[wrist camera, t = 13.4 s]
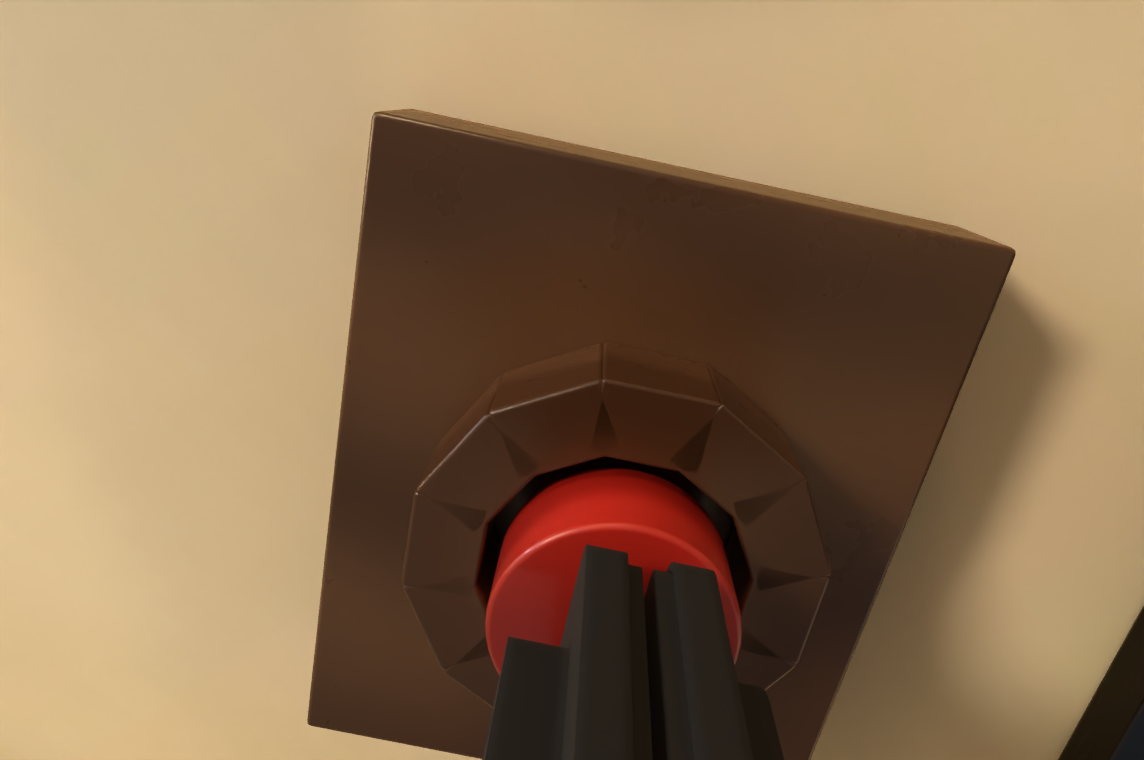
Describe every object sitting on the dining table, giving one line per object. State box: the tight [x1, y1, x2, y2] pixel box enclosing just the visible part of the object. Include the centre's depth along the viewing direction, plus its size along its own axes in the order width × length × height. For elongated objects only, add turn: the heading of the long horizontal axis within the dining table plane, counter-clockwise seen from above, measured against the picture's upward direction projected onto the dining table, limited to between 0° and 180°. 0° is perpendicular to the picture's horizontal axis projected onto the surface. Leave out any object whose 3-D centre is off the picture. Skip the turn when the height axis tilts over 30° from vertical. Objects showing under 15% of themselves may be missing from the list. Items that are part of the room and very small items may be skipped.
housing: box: [307, 109, 1015, 760], centre depth 14 cm, size 12×10×4 cm
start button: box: [485, 468, 742, 676], centre depth 12 cm, size 4×4×2 cm
